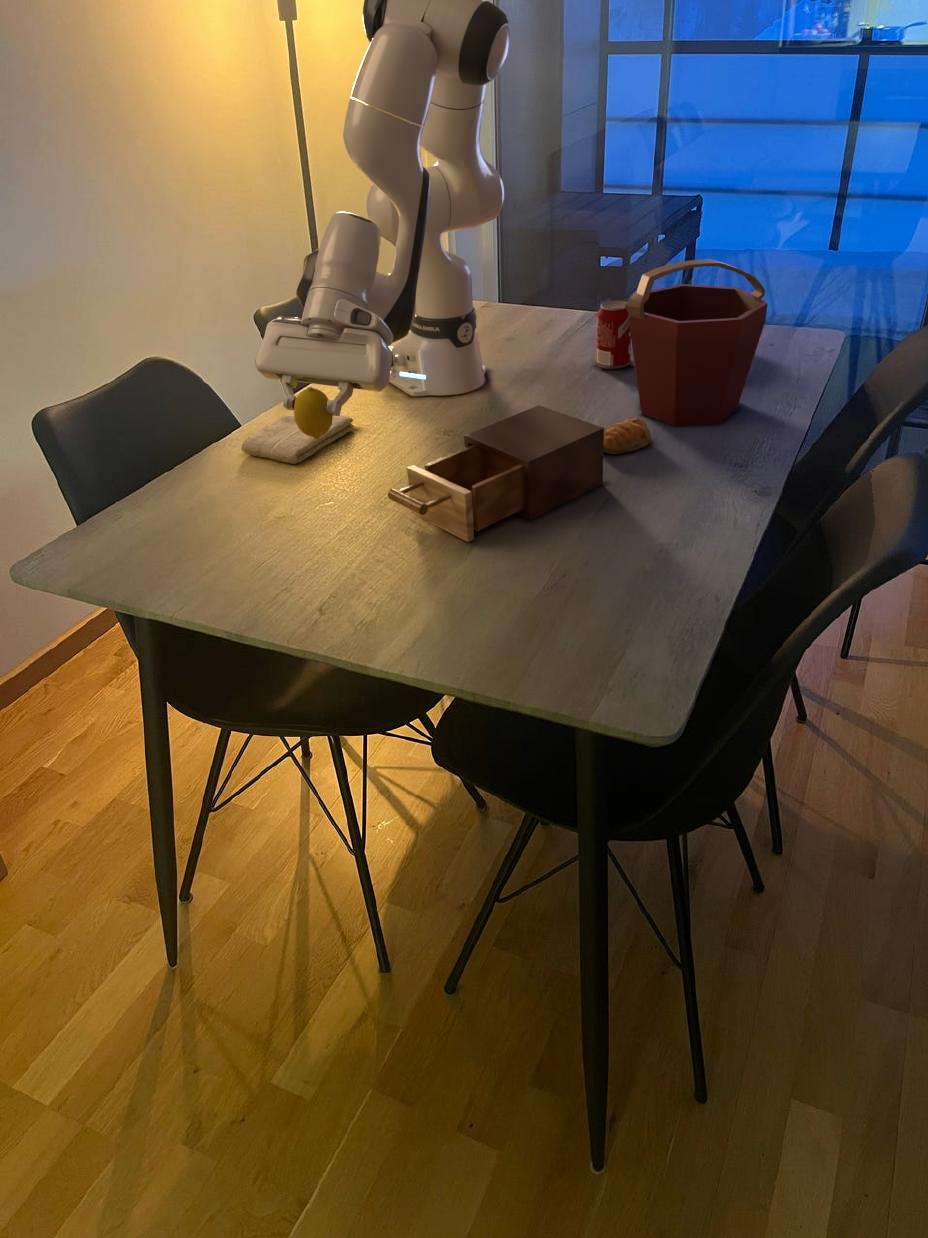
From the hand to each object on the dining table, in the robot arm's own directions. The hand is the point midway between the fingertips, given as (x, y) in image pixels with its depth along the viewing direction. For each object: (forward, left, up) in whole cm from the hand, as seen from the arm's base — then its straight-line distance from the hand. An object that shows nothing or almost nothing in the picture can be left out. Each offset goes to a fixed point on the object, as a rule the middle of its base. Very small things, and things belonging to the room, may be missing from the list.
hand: (311, 411), depth 135 cm
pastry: (+19, +47, -16) cm, 53 cm away
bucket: (+16, +67, -16) cm, 71 cm away
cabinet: (+19, +26, -16) cm, 36 cm away
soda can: (-8, +75, -16) cm, 77 cm away
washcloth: (-24, +11, -16) cm, 31 cm away
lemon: (-1, +1, -5) cm, 5 cm away
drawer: (+19, +11, -15) cm, 26 cm away
